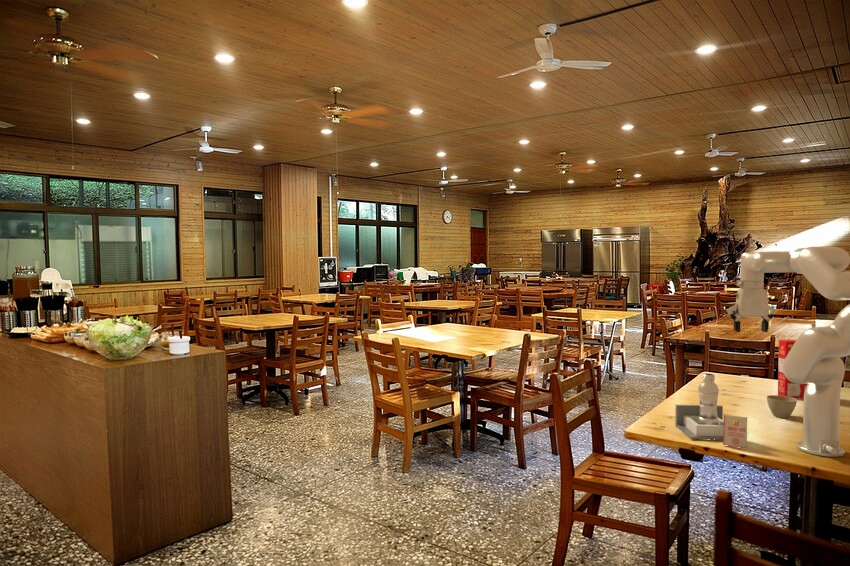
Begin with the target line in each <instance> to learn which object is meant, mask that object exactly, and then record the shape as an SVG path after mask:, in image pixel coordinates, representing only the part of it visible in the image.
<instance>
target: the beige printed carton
mask: <svg viewBox="0 0 850 566" xmlns="http://www.w3.org/2000/svg"><path fill="white" fill-rule="evenodd" d="M723 421H724V431H723V441H722V442H723V443H722V446H723V445H728V446H734V447H740V448H739V449H742V448H747V449H748V416H741V415H739V416H738V415H731V414H724V415H723ZM734 447H733V448H734Z"/></svg>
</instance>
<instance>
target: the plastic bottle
mask: <svg viewBox="0 0 850 566" xmlns="http://www.w3.org/2000/svg"><path fill="white" fill-rule="evenodd" d="M701 379H702V382H701V383H699V385H698V387H697V391H698V399H699V405H700V411H699V417H698V424H699V425H719V422H718V418H717V405H718V398H719V391H720V390H719V387H718V385H717V384H716V382H715V380H716V379H715V374H713V373H702V378H701Z"/></svg>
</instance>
